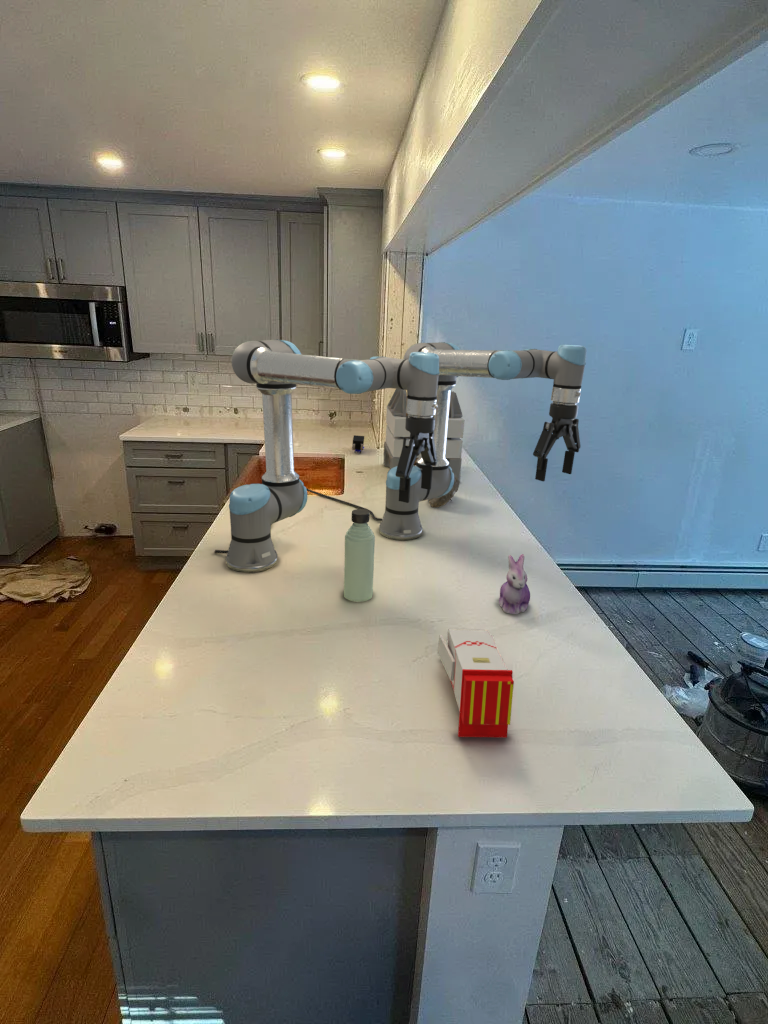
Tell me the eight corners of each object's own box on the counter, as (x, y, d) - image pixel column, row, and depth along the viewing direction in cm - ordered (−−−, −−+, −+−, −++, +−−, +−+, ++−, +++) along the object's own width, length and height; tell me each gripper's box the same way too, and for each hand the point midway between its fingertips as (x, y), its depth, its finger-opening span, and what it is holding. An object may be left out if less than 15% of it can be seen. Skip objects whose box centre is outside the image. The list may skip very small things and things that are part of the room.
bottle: (377, 598, 155) (380, 516, 147) (350, 604, 151) (352, 520, 143) (365, 586, 161) (368, 506, 153) (339, 591, 158) (340, 510, 150)
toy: (488, 613, 130) (523, 677, 101) (484, 667, 133) (517, 744, 104) (435, 612, 130) (455, 676, 101) (432, 666, 133) (451, 743, 103)
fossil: (424, 482, 246) (453, 463, 241) (437, 499, 248) (465, 480, 243) (422, 503, 226) (454, 483, 221) (436, 521, 229) (467, 502, 224)
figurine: (512, 619, 147) (519, 566, 142) (488, 601, 156) (494, 551, 151) (540, 611, 151) (548, 560, 146) (515, 594, 160) (522, 546, 155)
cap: (372, 522, 148) (372, 513, 147) (355, 524, 146) (355, 515, 145) (365, 516, 152) (365, 508, 151) (348, 518, 150) (348, 509, 149)
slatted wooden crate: (382, 463, 289) (386, 382, 275) (445, 464, 293) (451, 384, 279) (390, 482, 257) (394, 392, 243) (460, 483, 261) (468, 394, 247)
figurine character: (364, 456, 305) (364, 447, 319) (364, 443, 302) (364, 434, 315) (351, 456, 305) (352, 446, 318) (351, 443, 302) (352, 434, 315)
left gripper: (412, 424, 132) (407, 510, 139) (452, 411, 153) (446, 486, 160) (384, 420, 135) (380, 504, 142) (427, 407, 156) (422, 481, 163)
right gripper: (550, 408, 147) (539, 486, 154) (600, 401, 162) (588, 473, 170) (526, 404, 152) (516, 480, 159) (577, 398, 168) (566, 467, 175)
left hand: (415, 495), depth 151 cm, fingers open, 13 cm apart
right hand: (553, 476), depth 165 cm, fingers open, 13 cm apart
